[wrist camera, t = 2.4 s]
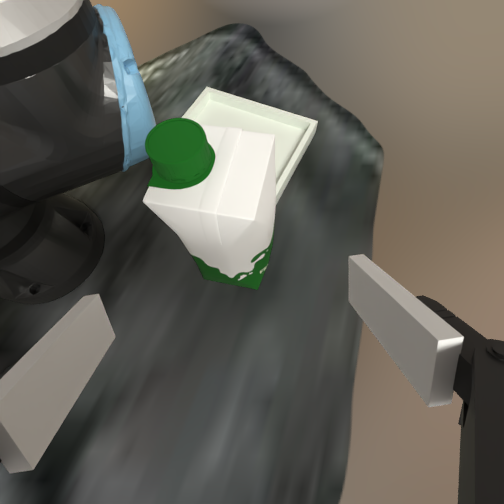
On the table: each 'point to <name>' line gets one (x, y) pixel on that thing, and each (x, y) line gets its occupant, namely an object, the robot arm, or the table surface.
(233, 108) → the tray
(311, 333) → the table surface
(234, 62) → the table surface
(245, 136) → the soya milk
